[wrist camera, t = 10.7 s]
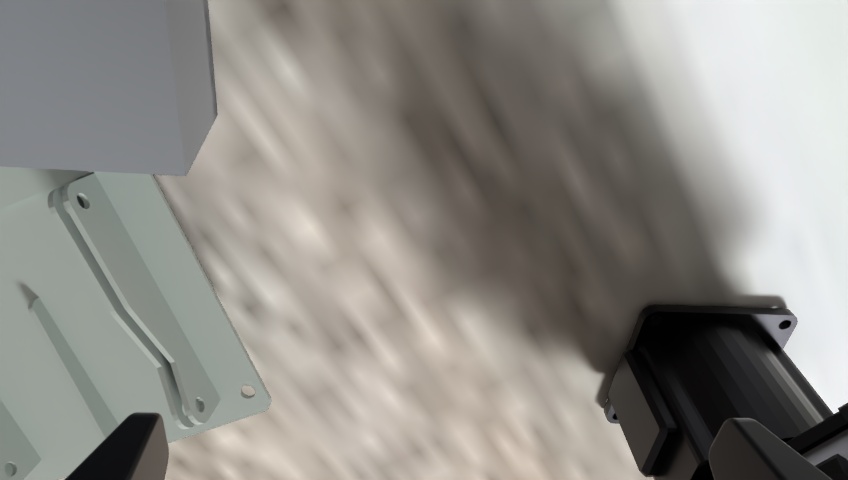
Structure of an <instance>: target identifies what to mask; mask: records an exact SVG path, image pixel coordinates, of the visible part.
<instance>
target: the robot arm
mask: <svg viewBox="0 0 848 480" xmlns="http://www.w3.org/2000/svg"><path fill="white" fill-rule="evenodd" d="M656 316H657V317H656ZM653 317H656V318H654V319H651V318H653ZM797 322H798V321H797V318H796V317H795V316H794V314H793V313H792V312H791V311H790V310H788V309H775V308H743V307H710V306H678V305H651V306H648V307H646V308H645V309H644V310H642V312H641V313H640V316H639V318H638V321H637V323H636V326H635V329H634V331H633V334H632V337H631V339H630V342H629V345H628V347H627V350H626V351H625V352H624V354H623V355H622V357H621V360H620V363H619V365H618V368H617V371H616V373H615V376H614V379H613V381H612V384H611V387H610V389H609V392H608V397H609V398H608V400H607V403H606V406H605V408H604V413H605V415H606V418H607V420H608V421H609V422H610V423H620V426H621V428H622V430H623V433H624V435H625V437H626V440H627V442H628V445H629V447H630V449H631V452H632V454H633V456H634V459H635V461H636V464H637V466H638V468H639V471H640V472H641V473H642V474H643V475H644V476H645V477H653V478H654V480H848V403H846V404H845V405H843V406H841V407H840V408H838V410H839V412H837V413H835V414H833V413H832V411H831V410H830V409H829V408H828V406H827V405H826V404H825V403H824V401H823V400H822V399H821V397H820V396H819V395H818V394H817V392H816V391H815V390H814V389H813V387H812V386H811V385H810V384H809V382H808V381H807V380H806V378H805V377H804V376H803V375H802V373H801V372H800V371H799V370H798V368H797V367H796V366H795V364H794V363H793V362H792V361H791V359H790V358H789V357H788V356H787V354H786V353H785V352H784V351H783V348H784V346H785V345H786V343H787V341H788V339H789V337H790V336H791V334H792V332H793V330H794V329H795V327H796V325H797ZM168 455H169V449H168V443H167V438H166V432H165V427H164V422H163V418H162V416H161V414H159V413H156V412H136V413H132V414H130V415H129V416H128V417H127V418H125V420H124V421H123V422H122V423H121V424H120V425H119V426H118V427H117V428H116V429H115V430H114V431H113V432H112V433H111V434H110V435H109V436H108V437H107V438H106V439H105V440H104V441H103V442H102V443H101V444H100V445H99V446H98V447H97V448H96V449H95V450H94V451H93V452H92V453H91V454H90V455H89V456H88V457H87V458H86V459H85V460H84V461H83V462H82V463H81V464H80V465H79V466H78V467H77V468H76V469H75V470H74V471H73V472H72V473H71V474H70V475H69V476H68V477H67V478H66V479H65V480H164V479H165V474H166V469H167V464H168Z"/></svg>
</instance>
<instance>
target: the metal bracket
mask: <svg viewBox="0 0 848 480" xmlns="http://www.w3.org/2000/svg"><path fill="white" fill-rule="evenodd" d="M244 385H249V386H252V387H253V388H254V390H255V394H254V395H252V396H248V395H245V394H244V393H243V392H242V389H241V387H242V386H244ZM271 402H272V401H271V397H270V395H269V393H268V391H267V389H266V387H265V385H264V383H263V381H262V380H261V378H260V376H259V374H258V372H257V370H256V368H255V366H254V365H253V363H252V361H251V359H250V357H249V355H248V353H247V351H246V349H245V348H244V346H243V344H242V342H241V340H240V338H239V336H238V334H237V332H236V331H235V329H234V327H233V325H232V323H231V321H230V319H229V317H228V315H227V314H226V312H225V310H224V308H223V306H222V304H221V302H220V300H219V298H218V297H217V295H216V293H215V291H214V289H213V287H212V285H211V283H210V281H209V280H208V278H207V276H206V274H205V272H204V270H203V268H202V266H201V264H200V263H199V261H198V259H197V257H196V255H195V253H194V251H193V249H192V248H191V246H190V244H189V242H188V240H187V238H186V236H185V234H184V232H183V231H182V229H181V227H180V225H179V223H178V221H177V219H176V217H175V215H174V214H173V212H172V210H171V208H170V206H169V204H168V202H167V200H166V198H165V197H164V195H163V193H162V191H161V189H160V187H159V185H158V183H157V181H156V180H155V178H154V176H153V174H136V173H117V172H98V171H78V170H59V169H39V168H20V167H1V166H0V480H59V479H62V478H65V477H68V476H69V475H70V474H71V473H72V472H73V471H74V470H75V469H76V468H77V467H78V466H79V465H80V464H81V463H82V462H83V461H84V460H85V459H86V458H87V457H88V456H89V455H90V454H91V453H92V452H93V451H94V450H95V449H96V448H97V447H98V446H99V445H100V444H101V443H102V442H103V441H104V440H105V439H106V438H107V437H108V436H109V435H110V434H111V433H112V432H113V431H114V430H115V429H116V428H117V427H118V426H119V425H120V424H121V423H122V422H123V421H124V420H125V418H127V417H128V416H129V415H130V414H132V413H136V412H156V413H159V414H161V416H162V418H163V422H164V427H165V432H166V438H167V443H171V442H174V441H177V440H180V439H183V438H186V437H189V436H192V435H195V434H198V433H201V432H204V431H207V430H210V429H213V428H216V427H219V426H222V425H225V424H228V423H231V422H234V421H237V420H240V419H243V418H246V417H249V416H252V415H255V414H258V413H261V412H264V411H266V410H267V409H269V407H270V404H271Z"/></svg>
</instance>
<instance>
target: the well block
mask: <svg viewBox="0 0 848 480" xmlns="http://www.w3.org/2000/svg"><path fill="white" fill-rule="evenodd" d="M217 115H218V114H217V103H216V91H215V80H214V68H213V57H212V45H211V33H210V22H209V10H208V0H0V166H1V167H20V168H39V169H59V170H78V171H98V172H117V173H136V174H156V175H175V176H186V175H187V173H188V172H189V170H190V168H191V166H192V164H193V162H194V160H195V158H196V156H197V154H198V152H199V150H200V148H201V146H202V144H203V142H204V140H205V138H206V136H207V134H208V132H209V130H210V129H211V127H212V125H213V123H214V121H215V119H216V117H217Z"/></svg>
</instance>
